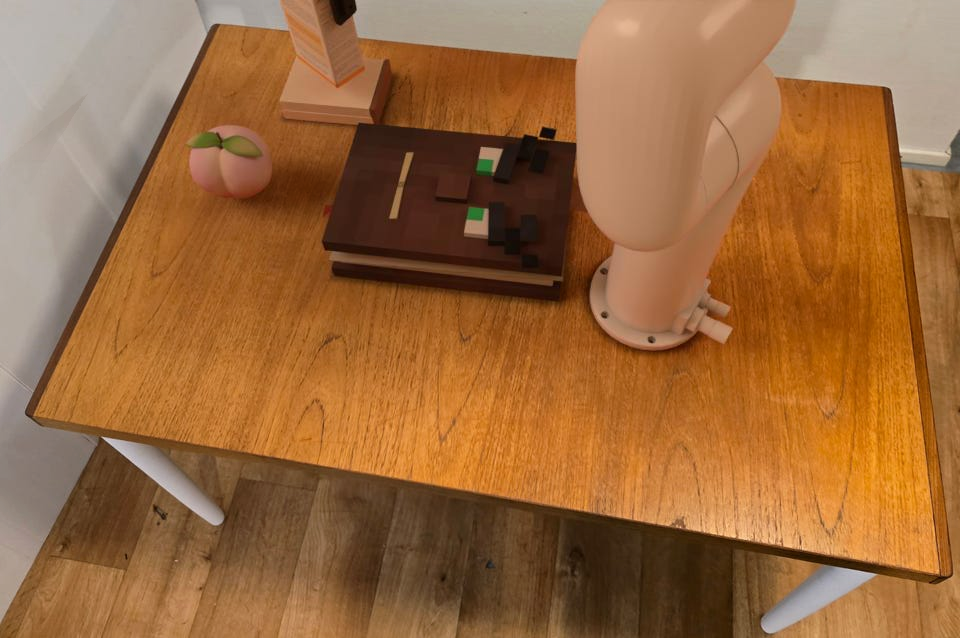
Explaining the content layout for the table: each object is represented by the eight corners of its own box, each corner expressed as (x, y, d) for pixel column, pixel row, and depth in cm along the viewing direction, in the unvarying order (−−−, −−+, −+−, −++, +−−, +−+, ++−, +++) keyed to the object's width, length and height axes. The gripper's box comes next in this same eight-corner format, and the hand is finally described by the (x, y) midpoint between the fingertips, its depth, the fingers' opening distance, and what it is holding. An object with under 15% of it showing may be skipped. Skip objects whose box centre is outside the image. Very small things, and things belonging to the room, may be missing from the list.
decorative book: (339, 107, 86) (600, 131, 83) (351, 152, 92) (593, 176, 90) (294, 243, 77) (586, 275, 74) (311, 282, 83) (579, 313, 80)
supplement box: (367, 70, 92) (346, -25, 80) (337, 90, 90) (311, -3, 79) (325, 38, 95) (300, -57, 83) (295, 57, 93) (265, -37, 82)
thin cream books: (392, 77, 99) (389, 59, 96) (378, 127, 94) (374, 109, 92) (303, 69, 100) (297, 51, 97) (285, 118, 96) (278, 101, 93)
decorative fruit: (290, 164, 92) (267, 104, 83) (276, 217, 88) (251, 160, 79) (215, 162, 92) (185, 102, 84) (199, 215, 88) (165, 158, 80)
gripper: (178, -161, 71) (235, -4, 86) (318, -106, 66) (353, 50, 81) (232, -198, 74) (278, -40, 89) (370, -148, 69) (394, 10, 84)
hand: (313, 3), depth 85 cm, fingers closed on supplement box, 9 cm apart
